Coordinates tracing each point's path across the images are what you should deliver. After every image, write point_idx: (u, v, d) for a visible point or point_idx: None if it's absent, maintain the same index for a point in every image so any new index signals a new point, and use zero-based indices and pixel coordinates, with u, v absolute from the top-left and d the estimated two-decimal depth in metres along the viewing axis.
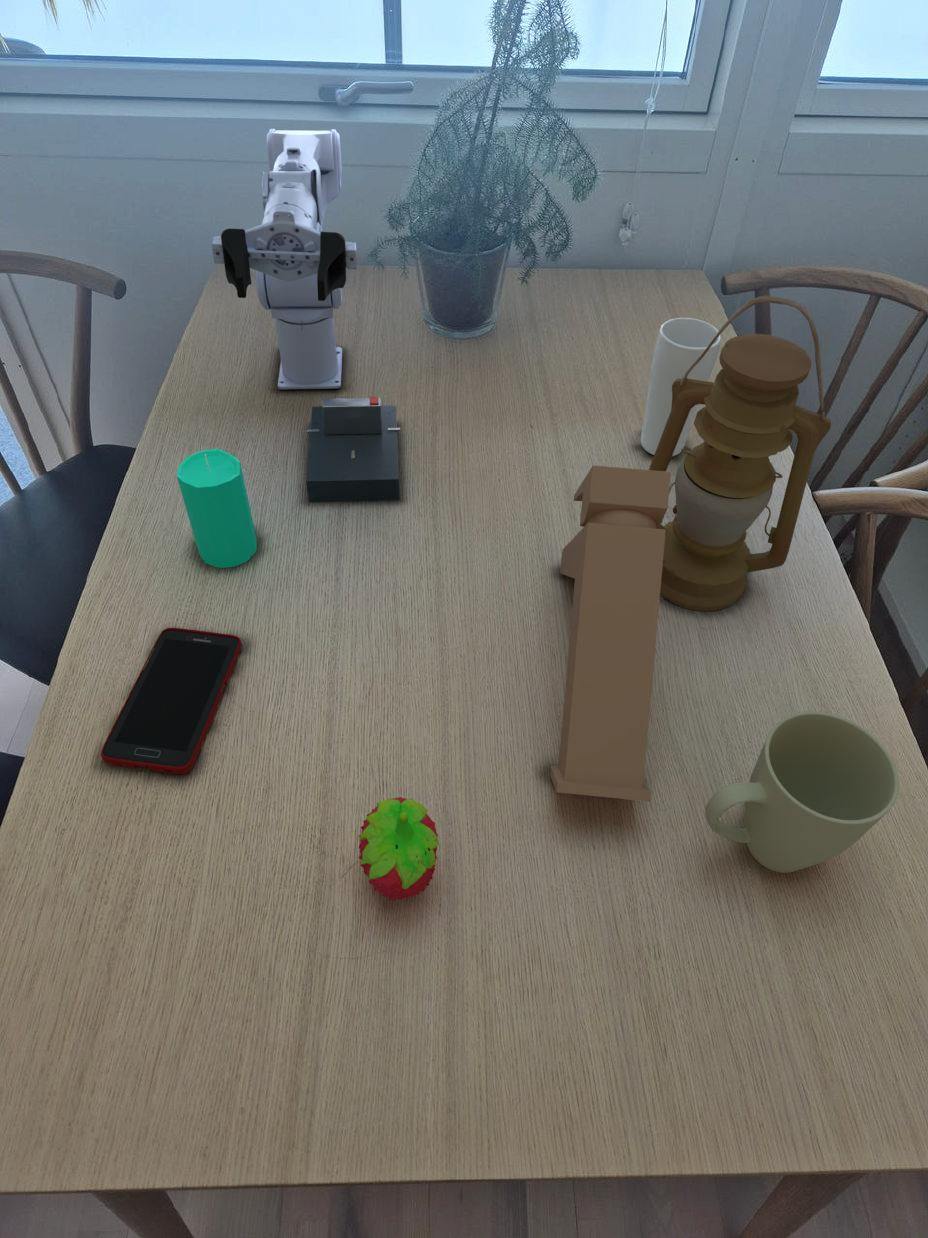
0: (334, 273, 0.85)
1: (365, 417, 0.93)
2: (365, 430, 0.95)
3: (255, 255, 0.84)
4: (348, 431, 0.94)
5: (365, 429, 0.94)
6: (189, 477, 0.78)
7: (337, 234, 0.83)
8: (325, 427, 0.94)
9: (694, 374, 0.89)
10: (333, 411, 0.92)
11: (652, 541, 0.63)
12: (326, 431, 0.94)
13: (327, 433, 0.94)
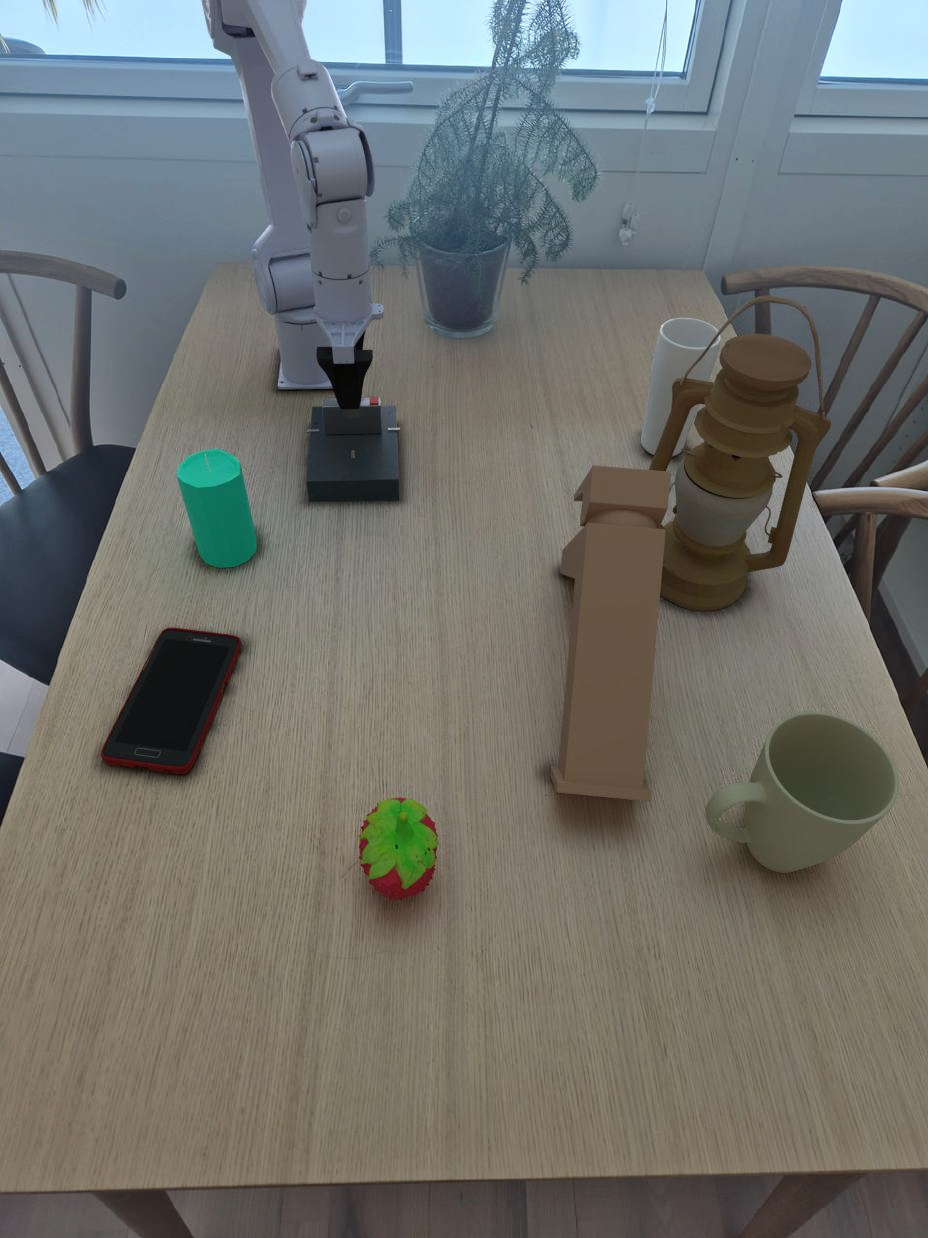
0: None
1: (365, 417, 0.93)
2: (365, 430, 0.95)
3: None
4: (348, 431, 0.94)
5: (365, 429, 0.94)
6: (189, 477, 0.78)
7: None
8: (325, 427, 0.94)
9: (694, 374, 0.89)
10: (333, 411, 0.92)
11: (652, 541, 0.63)
12: (326, 431, 0.94)
13: (327, 433, 0.94)
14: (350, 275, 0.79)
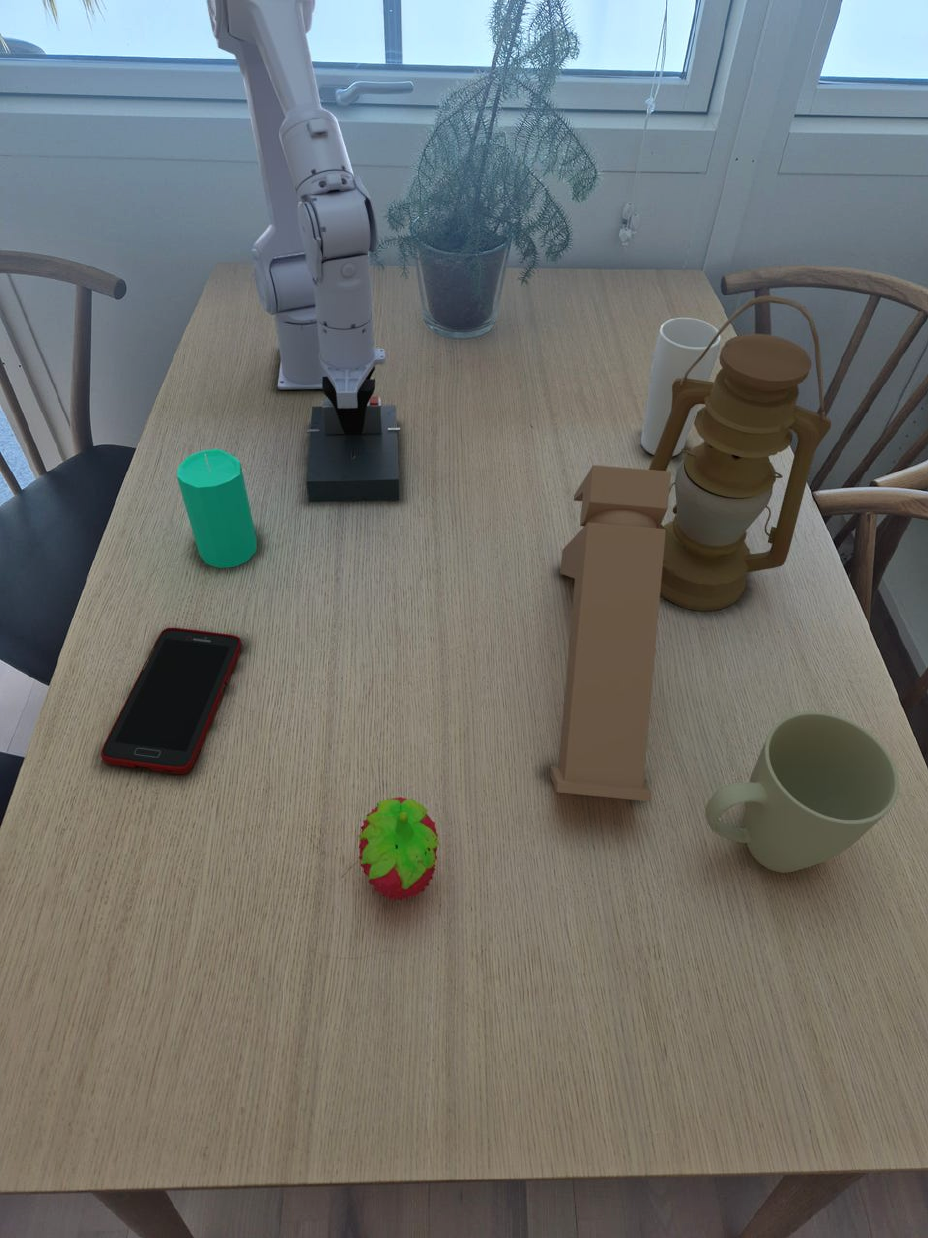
0: None
1: (365, 417, 0.93)
2: (365, 430, 0.95)
3: None
4: None
5: (365, 429, 0.94)
6: (189, 477, 0.78)
7: None
8: (325, 427, 0.94)
9: (694, 374, 0.89)
10: (333, 411, 0.92)
11: (652, 541, 0.63)
12: (326, 431, 0.94)
13: (327, 433, 0.94)
14: (354, 325, 0.83)
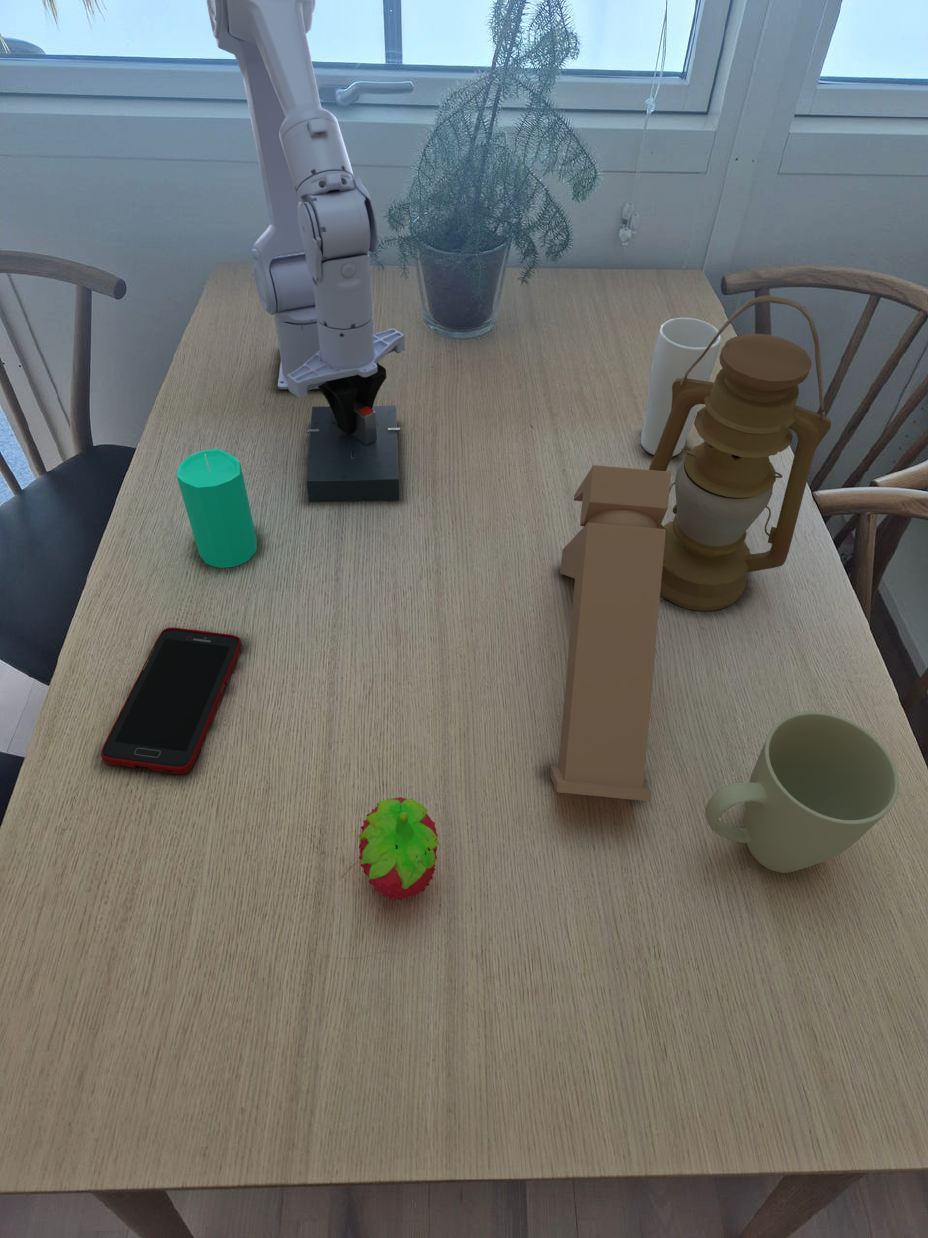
0: None
1: (355, 422, 0.93)
2: (355, 434, 0.94)
3: None
4: None
5: (355, 433, 0.94)
6: (189, 477, 0.78)
7: (384, 376, 0.90)
8: (330, 413, 0.96)
9: (694, 374, 0.89)
10: None
11: (652, 541, 0.63)
12: (331, 417, 0.96)
13: (332, 420, 0.96)
14: (353, 325, 0.83)
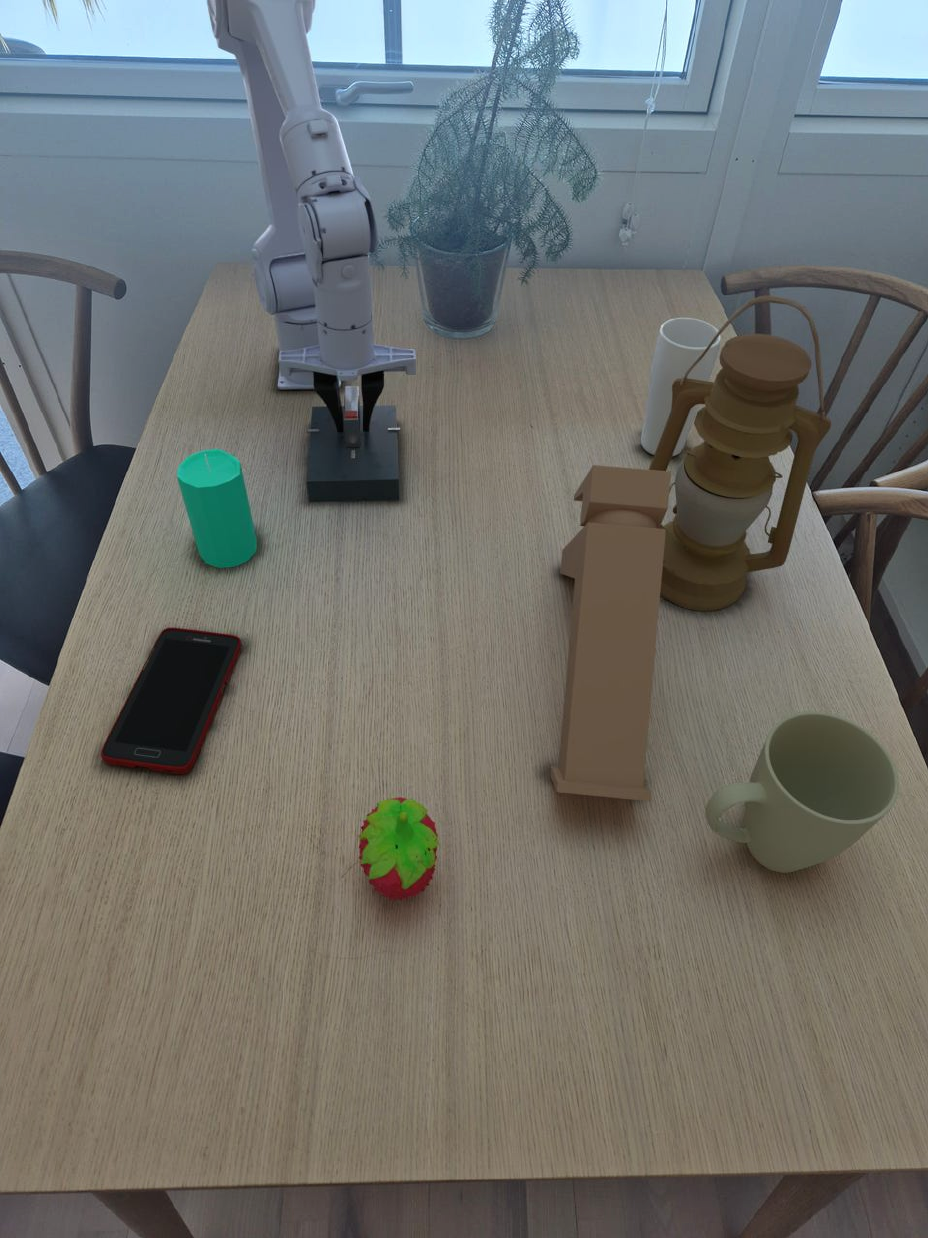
0: None
1: None
2: None
3: None
4: None
5: None
6: (189, 477, 0.78)
7: (377, 389, 0.88)
8: None
9: (694, 374, 0.89)
10: None
11: (652, 541, 0.63)
12: None
13: None
14: (354, 326, 0.83)
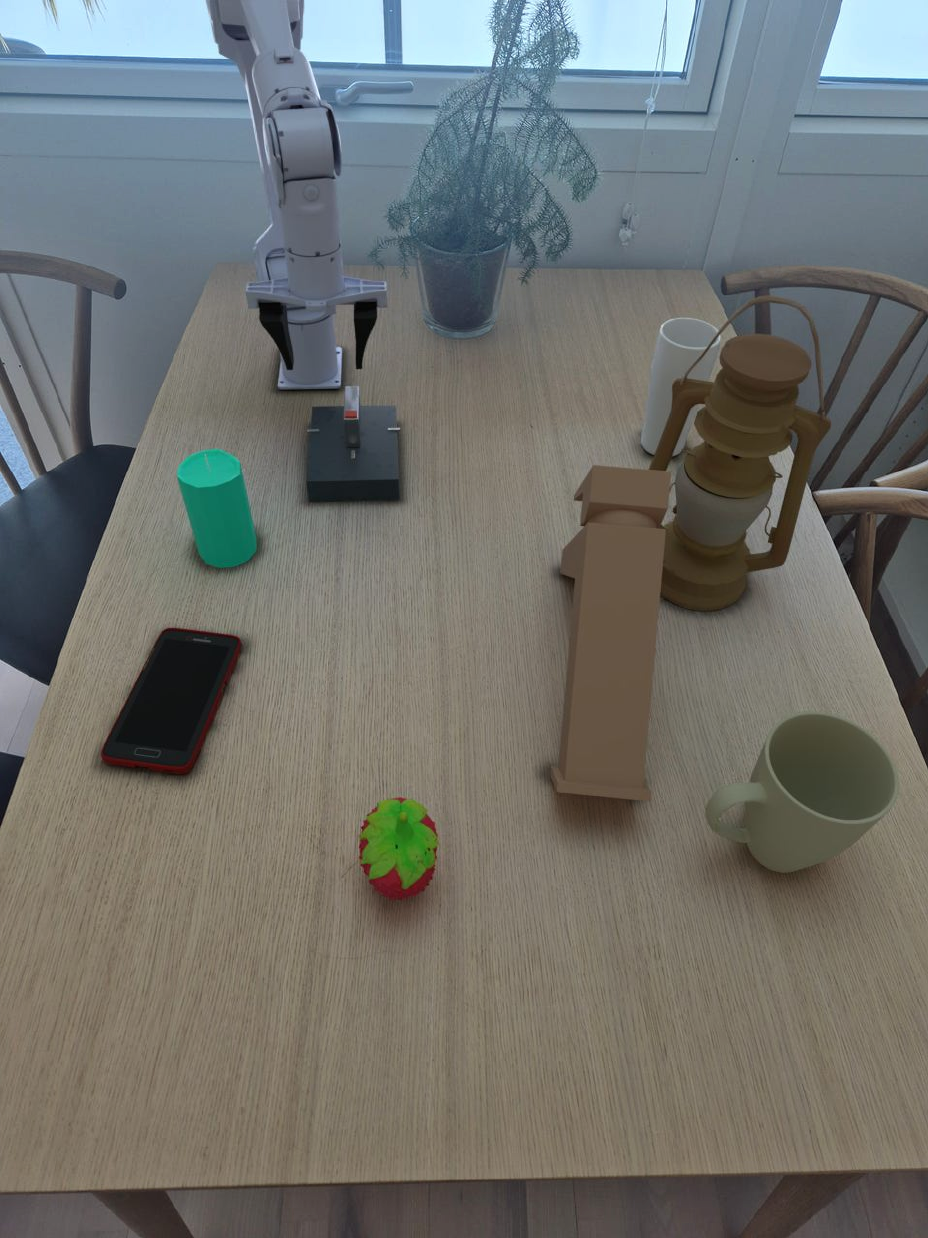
0: None
1: None
2: None
3: None
4: None
5: None
6: (189, 477, 0.78)
7: (370, 321, 0.86)
8: None
9: (694, 374, 0.89)
10: None
11: (652, 541, 0.63)
12: None
13: None
14: (318, 253, 0.81)
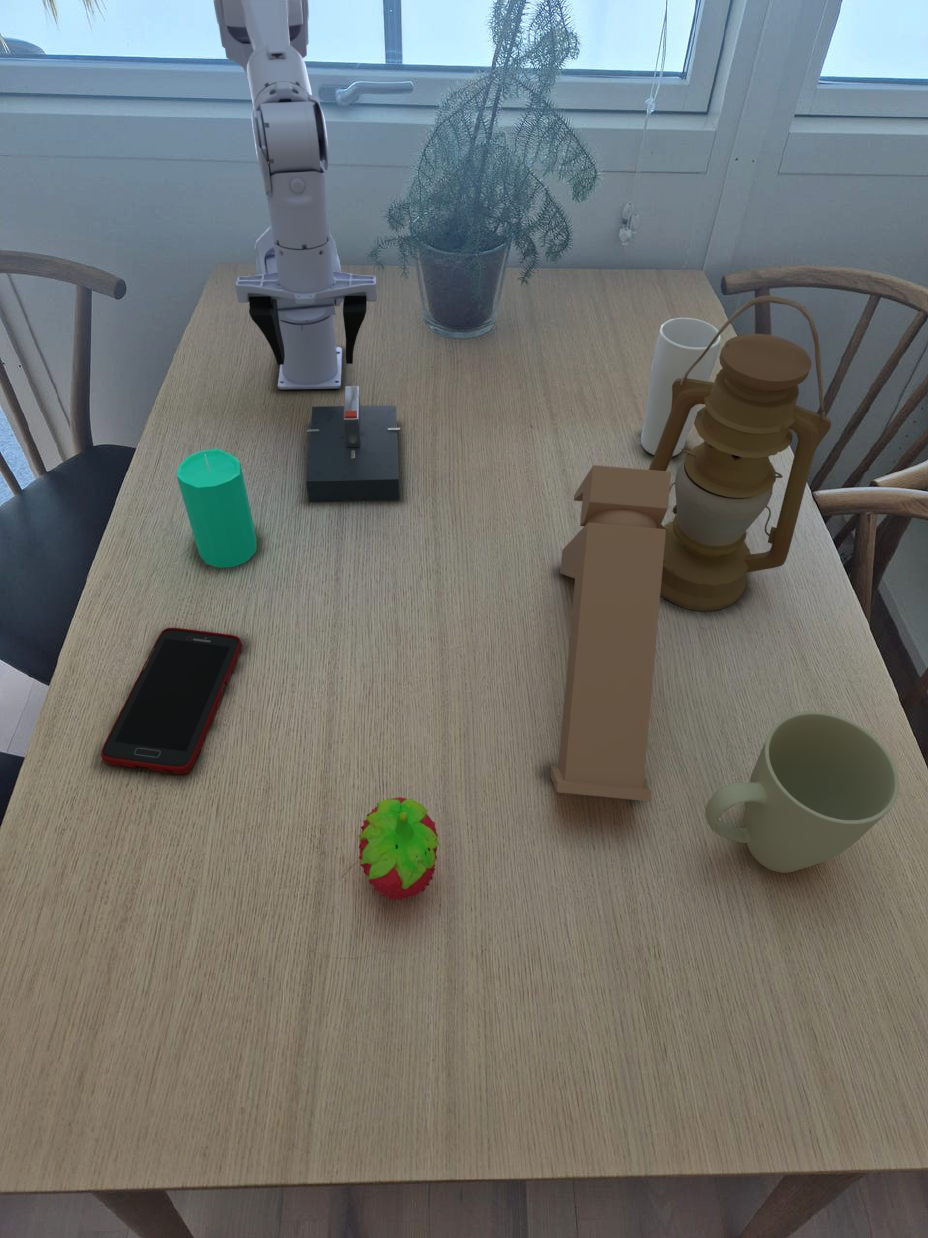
0: None
1: None
2: None
3: None
4: None
5: None
6: (189, 477, 0.78)
7: (359, 314, 0.87)
8: None
9: (694, 374, 0.89)
10: None
11: (652, 541, 0.63)
12: None
13: None
14: (305, 246, 0.81)
